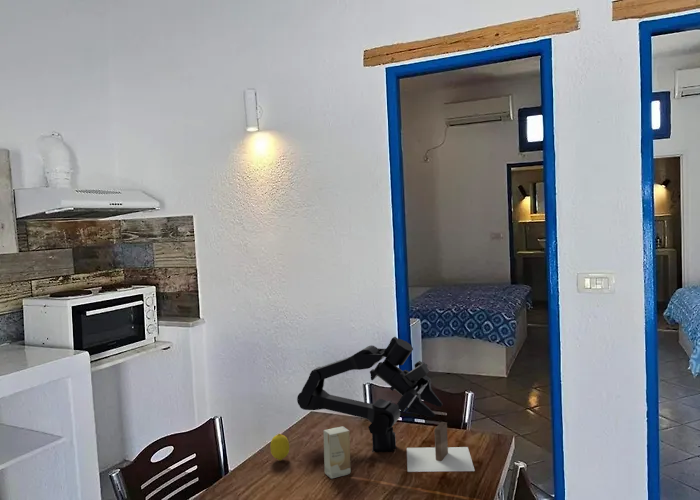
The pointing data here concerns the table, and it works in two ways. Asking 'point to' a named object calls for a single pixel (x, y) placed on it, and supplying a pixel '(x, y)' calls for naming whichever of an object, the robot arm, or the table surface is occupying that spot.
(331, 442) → the skincare box
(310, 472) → the table surface
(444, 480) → the table surface
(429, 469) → the mat
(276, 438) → the lemon
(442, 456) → the tile
